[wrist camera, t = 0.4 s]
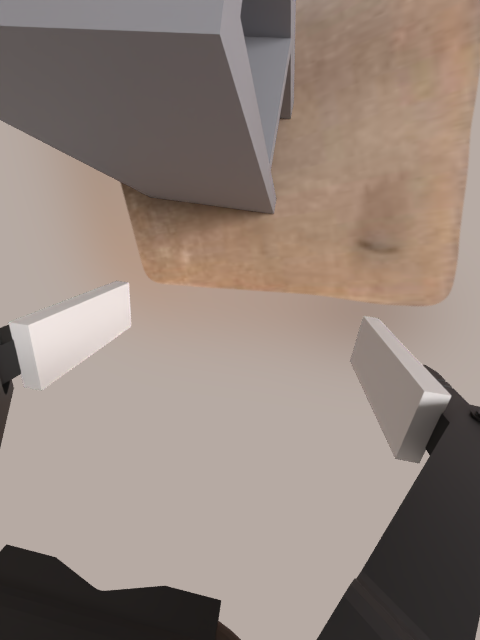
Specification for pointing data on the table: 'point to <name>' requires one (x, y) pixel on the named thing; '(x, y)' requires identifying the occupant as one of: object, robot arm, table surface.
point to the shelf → (155, 90)
